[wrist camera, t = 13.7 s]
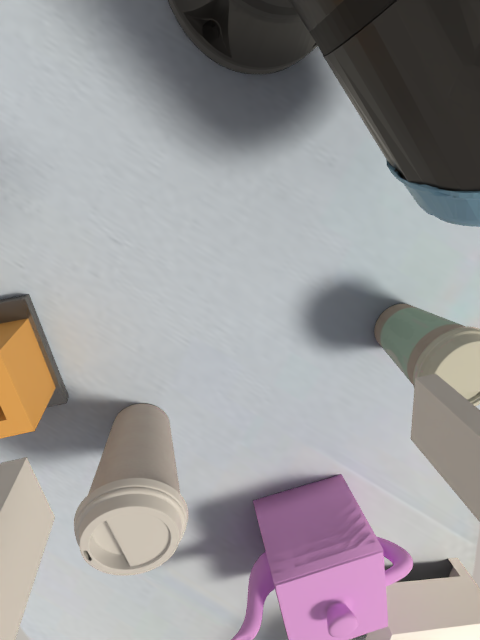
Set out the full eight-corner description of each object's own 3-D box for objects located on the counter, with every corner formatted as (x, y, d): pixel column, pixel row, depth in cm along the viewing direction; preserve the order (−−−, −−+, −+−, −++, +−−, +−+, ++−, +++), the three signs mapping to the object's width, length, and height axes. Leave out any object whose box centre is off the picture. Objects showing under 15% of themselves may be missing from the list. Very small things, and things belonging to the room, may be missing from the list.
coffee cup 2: (349, 336, 45) (407, 392, 34) (398, 278, 43) (475, 317, 32) (395, 369, 48) (462, 430, 37) (443, 316, 46) (527, 364, 36)
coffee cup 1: (100, 389, 42) (68, 498, 28) (187, 393, 44) (196, 497, 31) (97, 458, 45) (67, 585, 32) (178, 459, 48) (182, 579, 34)
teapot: (202, 515, 52) (213, 629, 39) (373, 463, 54) (437, 557, 41) (225, 583, 58) (241, 701, 46) (378, 534, 60) (435, 634, 48)
